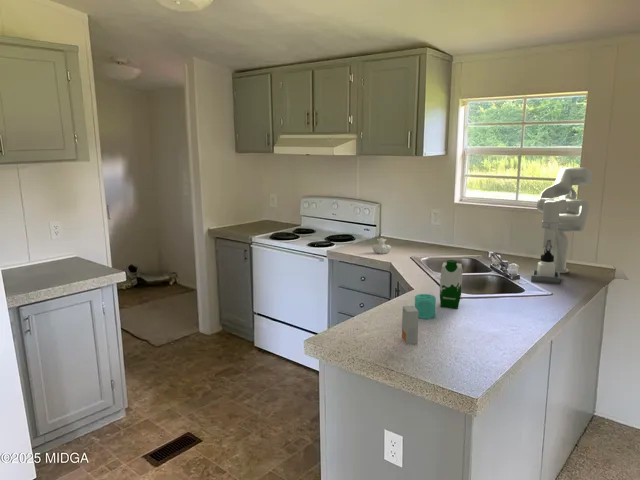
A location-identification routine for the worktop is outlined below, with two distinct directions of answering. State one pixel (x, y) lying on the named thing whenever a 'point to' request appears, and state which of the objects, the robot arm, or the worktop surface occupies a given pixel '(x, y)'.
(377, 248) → the white lobed vase
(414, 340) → the skincare box
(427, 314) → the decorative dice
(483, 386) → the worktop surface
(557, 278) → the tray
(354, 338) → the worktop surface
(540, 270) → the medicine bottle
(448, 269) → the milk carton
